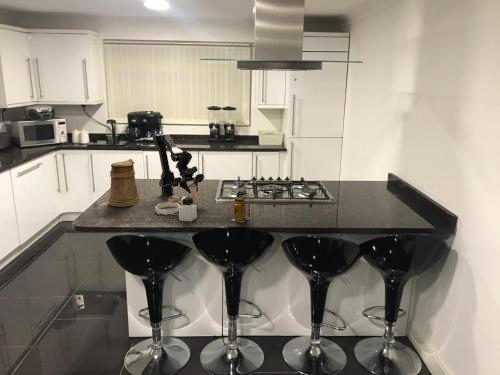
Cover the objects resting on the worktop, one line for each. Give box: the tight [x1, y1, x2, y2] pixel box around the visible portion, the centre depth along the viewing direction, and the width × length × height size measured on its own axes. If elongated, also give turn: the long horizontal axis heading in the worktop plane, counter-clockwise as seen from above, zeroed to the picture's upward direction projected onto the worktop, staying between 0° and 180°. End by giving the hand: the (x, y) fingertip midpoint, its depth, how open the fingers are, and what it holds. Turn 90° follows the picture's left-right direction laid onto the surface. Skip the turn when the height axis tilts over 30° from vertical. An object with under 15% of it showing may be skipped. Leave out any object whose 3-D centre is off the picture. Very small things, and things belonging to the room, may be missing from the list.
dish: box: [154, 201, 182, 215], centre depth 242 cm, size 13×13×3 cm
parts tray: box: [167, 195, 183, 205], centre depth 258 cm, size 10×8×3 cm
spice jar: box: [188, 183, 198, 205], centre depth 245 cm, size 4×4×11 cm
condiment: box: [231, 196, 252, 223], centre depth 227 cm, size 7×8×12 cm
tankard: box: [108, 158, 141, 208], centre depth 257 cm, size 18×24×25 cm
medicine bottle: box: [178, 196, 198, 223], centre depth 228 cm, size 7×7×12 cm
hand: (193, 192), depth 243 cm, fingers closed on spice jar, 4 cm apart
